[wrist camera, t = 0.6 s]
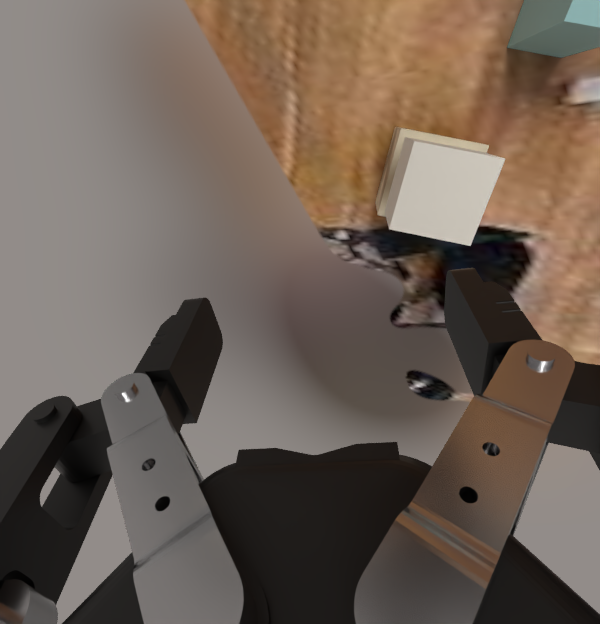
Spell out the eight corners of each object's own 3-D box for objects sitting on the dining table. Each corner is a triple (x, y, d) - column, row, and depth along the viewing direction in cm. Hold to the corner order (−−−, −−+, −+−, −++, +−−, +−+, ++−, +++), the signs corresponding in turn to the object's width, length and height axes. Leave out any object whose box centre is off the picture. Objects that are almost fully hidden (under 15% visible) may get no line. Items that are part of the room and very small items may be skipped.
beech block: (395, 126, 35) (401, 128, 30) (469, 140, 35) (489, 145, 29) (375, 201, 38) (377, 215, 33) (443, 215, 38) (456, 231, 33)
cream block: (404, 136, 30) (414, 141, 25) (479, 151, 30) (505, 158, 24) (384, 211, 33) (389, 229, 28) (452, 224, 33) (470, 245, 27)
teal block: (532, -22, 29) (606, -82, 20) (590, -12, 29) (691, -68, 20) (506, 47, 31) (564, 20, 22) (561, 57, 31) (640, 34, 22)
